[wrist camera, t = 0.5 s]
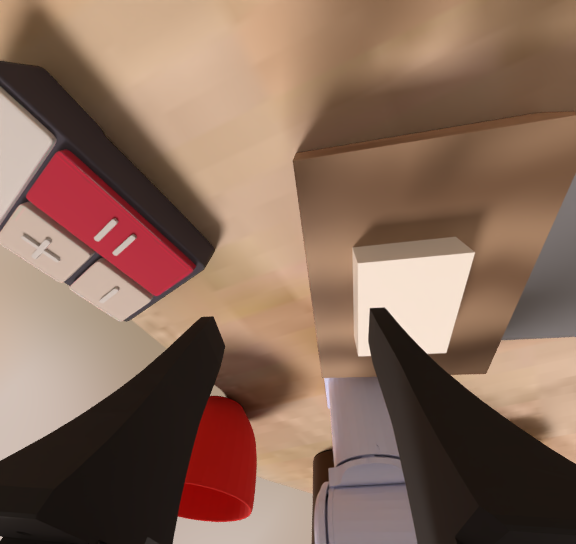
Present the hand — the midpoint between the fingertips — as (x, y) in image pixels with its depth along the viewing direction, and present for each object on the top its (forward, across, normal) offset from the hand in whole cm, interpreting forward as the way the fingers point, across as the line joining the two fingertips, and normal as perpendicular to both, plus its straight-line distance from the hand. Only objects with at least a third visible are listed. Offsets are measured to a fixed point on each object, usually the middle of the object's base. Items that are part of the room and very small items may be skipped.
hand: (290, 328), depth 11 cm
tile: (+6, -7, +3) cm, 9 cm away
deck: (+10, -8, +3) cm, 13 cm away
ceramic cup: (+10, +15, +26) cm, 32 cm away
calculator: (+10, +15, -4) cm, 19 cm away
